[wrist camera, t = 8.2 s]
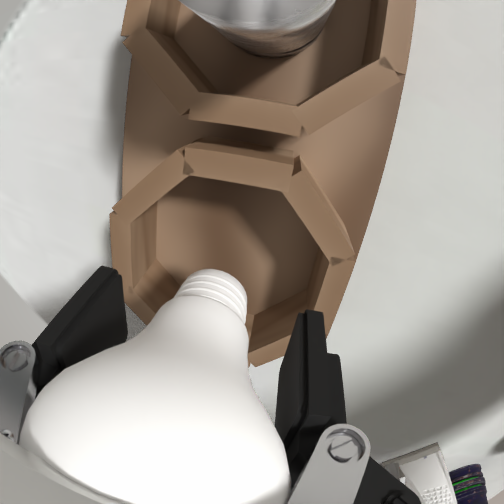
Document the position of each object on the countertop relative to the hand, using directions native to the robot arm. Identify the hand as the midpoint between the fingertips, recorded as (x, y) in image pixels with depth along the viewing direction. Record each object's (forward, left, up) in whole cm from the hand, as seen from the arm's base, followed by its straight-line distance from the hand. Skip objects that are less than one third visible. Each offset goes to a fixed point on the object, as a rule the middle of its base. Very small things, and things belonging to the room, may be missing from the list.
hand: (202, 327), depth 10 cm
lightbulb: (0, 0, -3) cm, 3 cm away
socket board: (0, -6, -8) cm, 10 cm away
